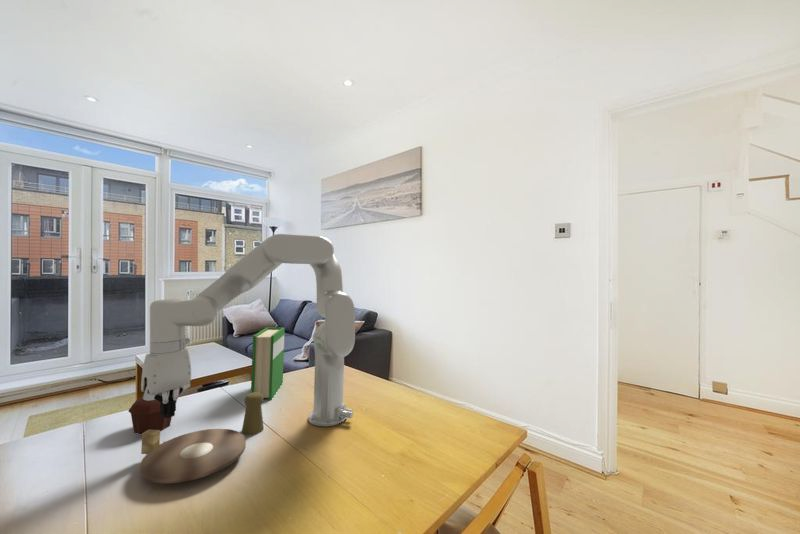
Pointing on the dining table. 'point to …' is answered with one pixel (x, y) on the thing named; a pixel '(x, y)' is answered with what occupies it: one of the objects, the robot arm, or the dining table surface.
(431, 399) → the dining table surface
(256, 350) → the hardback book
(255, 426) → the cork
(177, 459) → the turntable
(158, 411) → the muffin
